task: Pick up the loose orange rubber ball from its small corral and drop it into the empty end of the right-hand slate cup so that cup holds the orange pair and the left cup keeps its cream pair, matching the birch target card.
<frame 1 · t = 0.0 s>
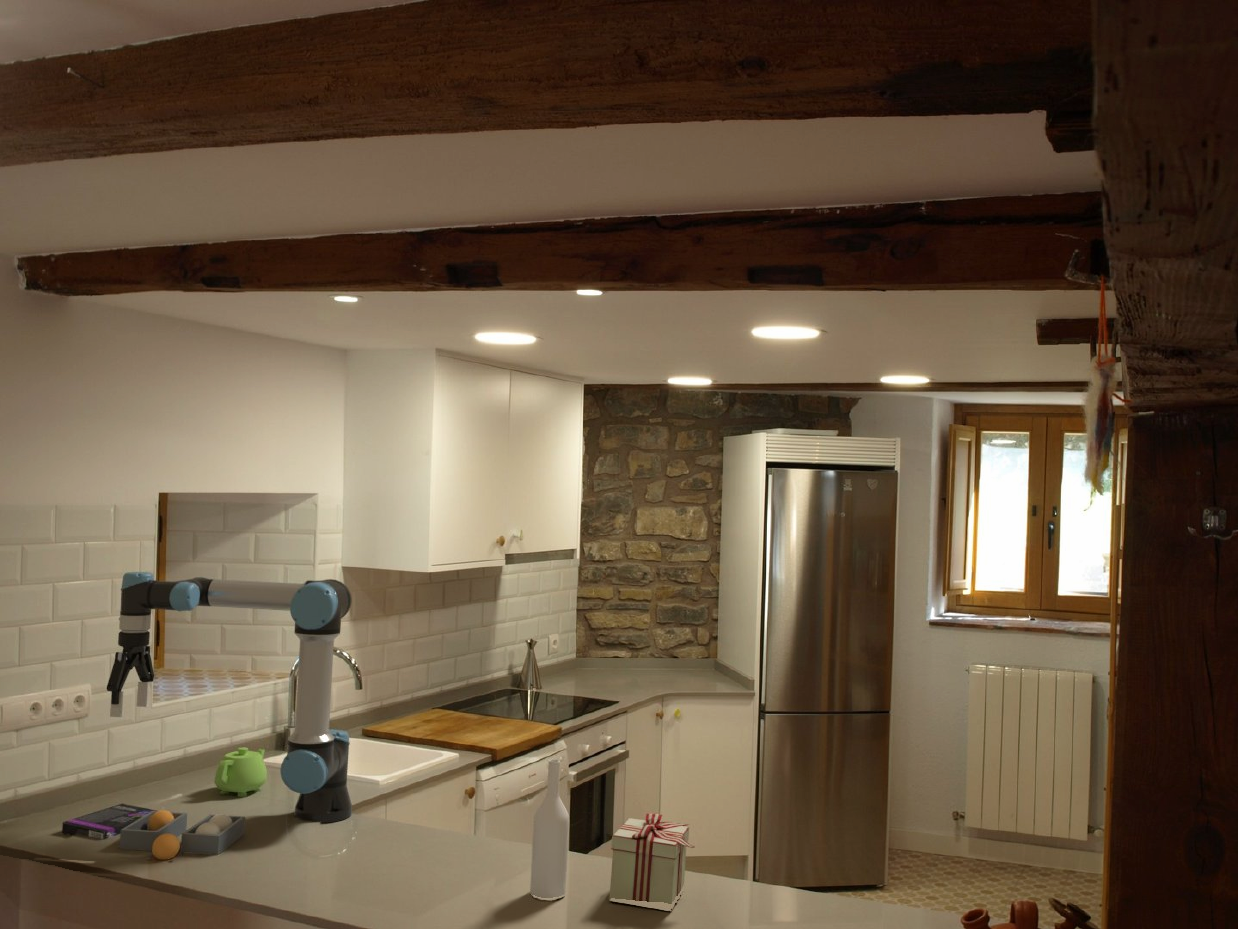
hand: (129, 711, 276), 28 cm above the worktop, fingers open, 13 cm apart
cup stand: (183, 843, 258), on the worktop
gift box: (653, 897, 238), on the worktop
orange ball 2: (165, 859, 246), on the worktop
cream ball 2: (207, 847, 254), point 1 cm above the worktop, touching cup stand
orange ball 1: (160, 834, 262), point 1 cm above the worktop, touching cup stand
bottle: (547, 895, 236), on the worktop
cream ball 1: (219, 838, 261), point 1 cm above the worktop, touching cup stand
teapot: (240, 792, 304), on the worktop
box: (113, 830, 268), on the worktop
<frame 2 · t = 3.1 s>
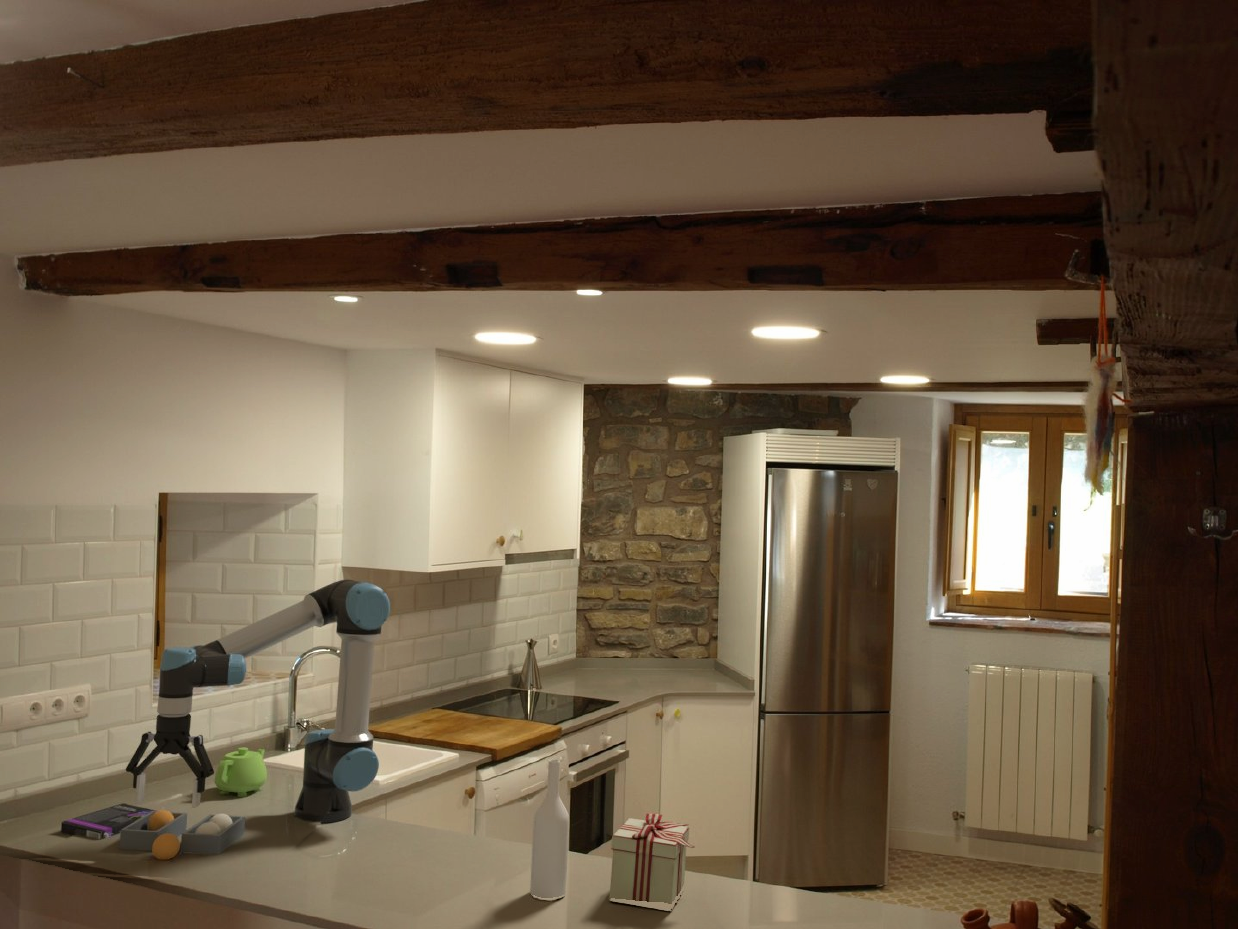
hand: (167, 804, 247), 13 cm above the worktop, fingers open, 13 cm apart
nothing on the worktop moved.
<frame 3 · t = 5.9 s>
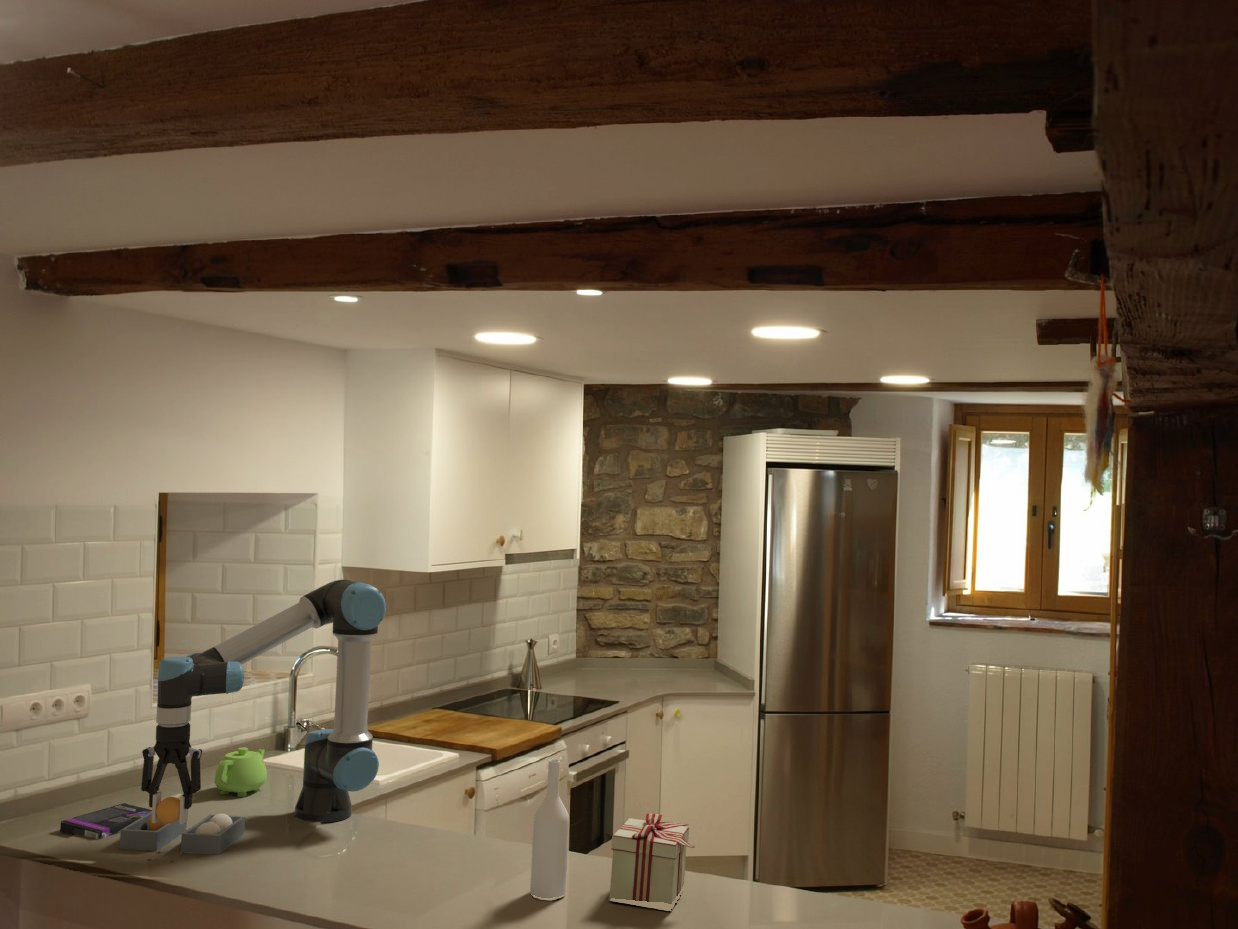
hand: (169, 821, 247), 9 cm above the worktop, fingers closed on orange ball 2, 6 cm apart
orange ball 2: (169, 823, 247), point 8 cm above the worktop, touching gripper
everything else where it was.
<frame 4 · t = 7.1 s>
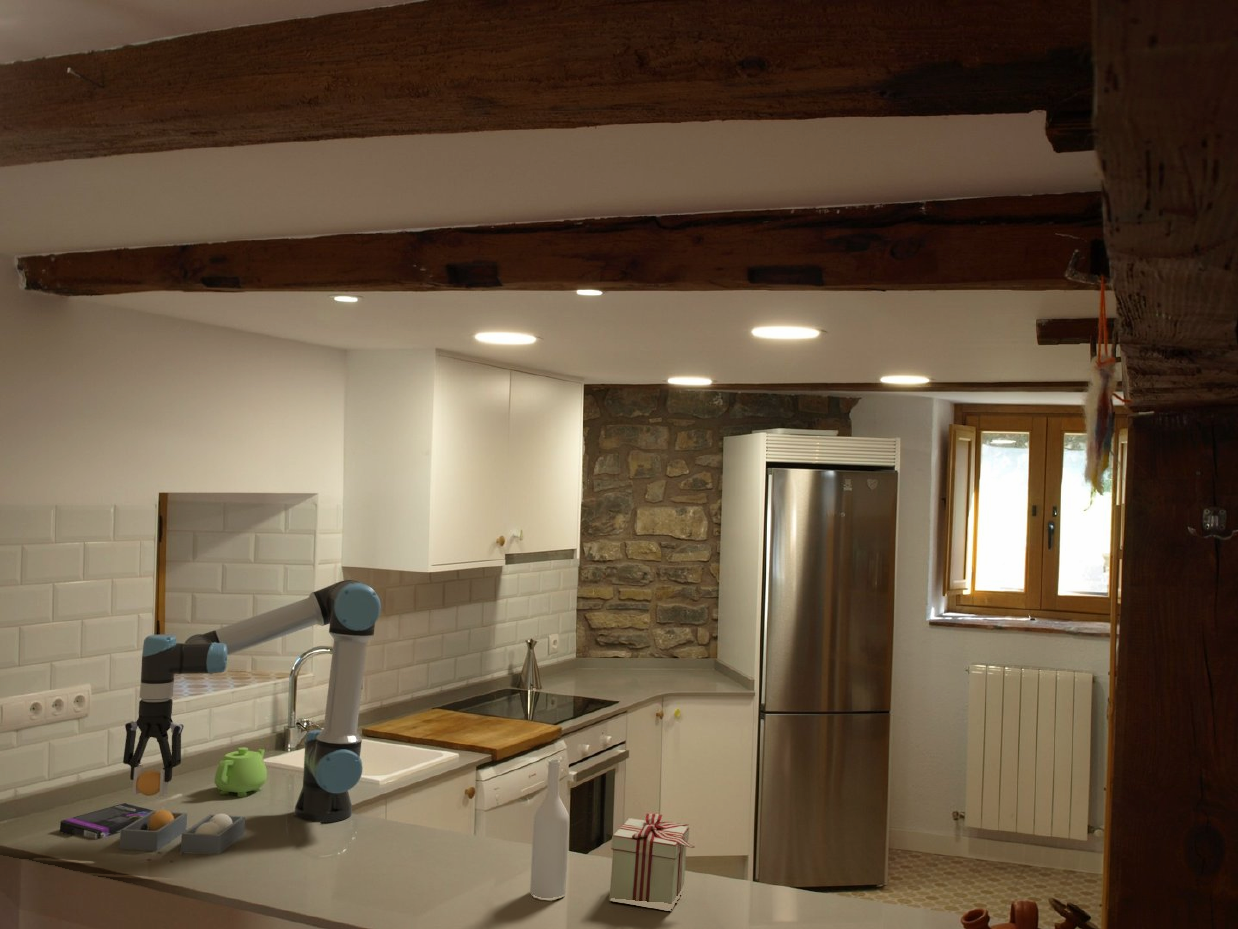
hand: (150, 794, 255), 13 cm above the worktop, fingers closed on orange ball 2, 6 cm apart
orange ball 2: (149, 795, 255), point 12 cm above the worktop, touching gripper
everything else where it was.
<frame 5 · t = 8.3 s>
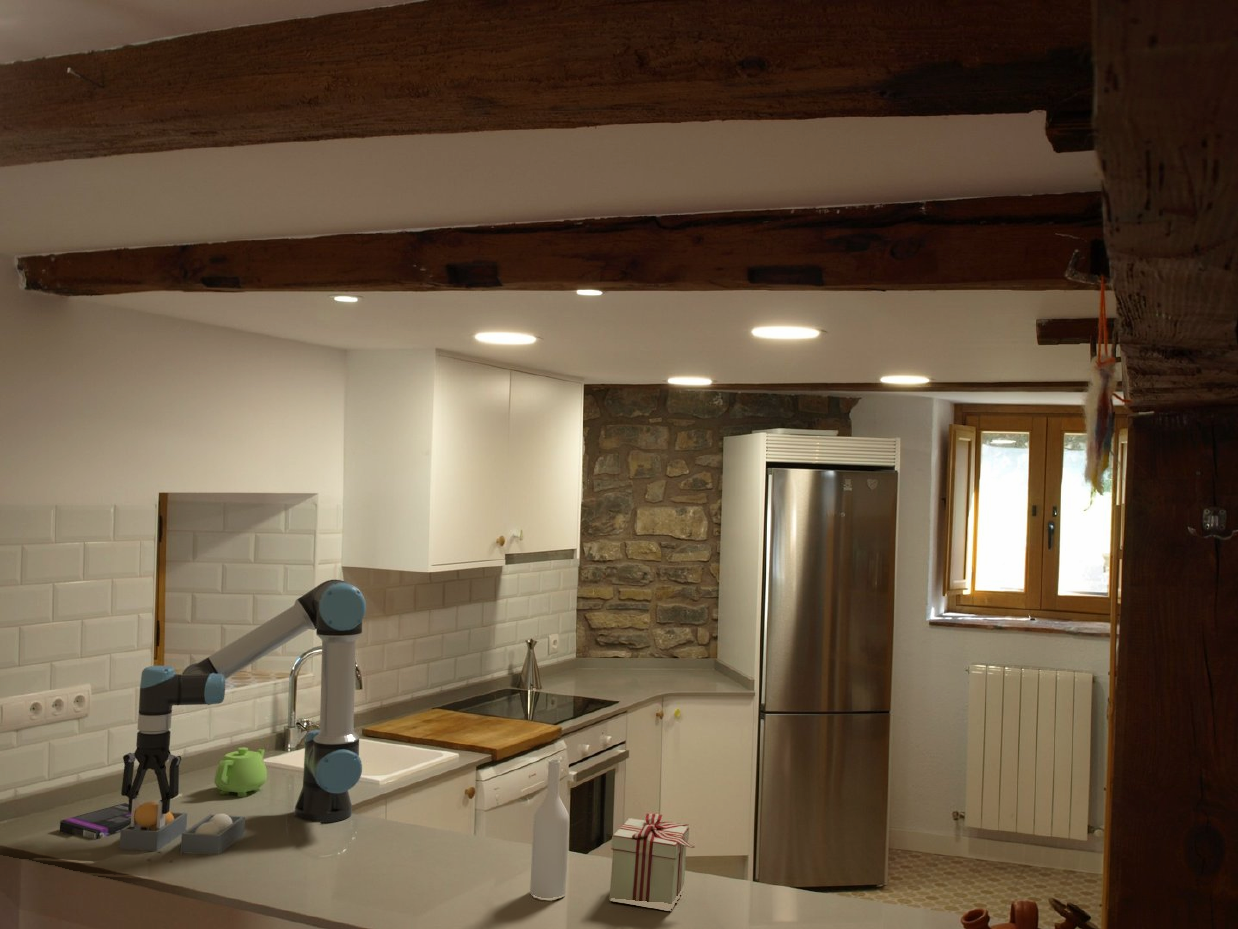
hand: (147, 825, 255), 5 cm above the worktop, fingers closed on orange ball 2, 6 cm apart
orange ball 2: (147, 827, 255), point 5 cm above the worktop, touching gripper
everything else where it was.
when the fingers open (5 cm above the worktop, at t = 9.7 s): orange ball 2 stays where it is, resting on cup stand.
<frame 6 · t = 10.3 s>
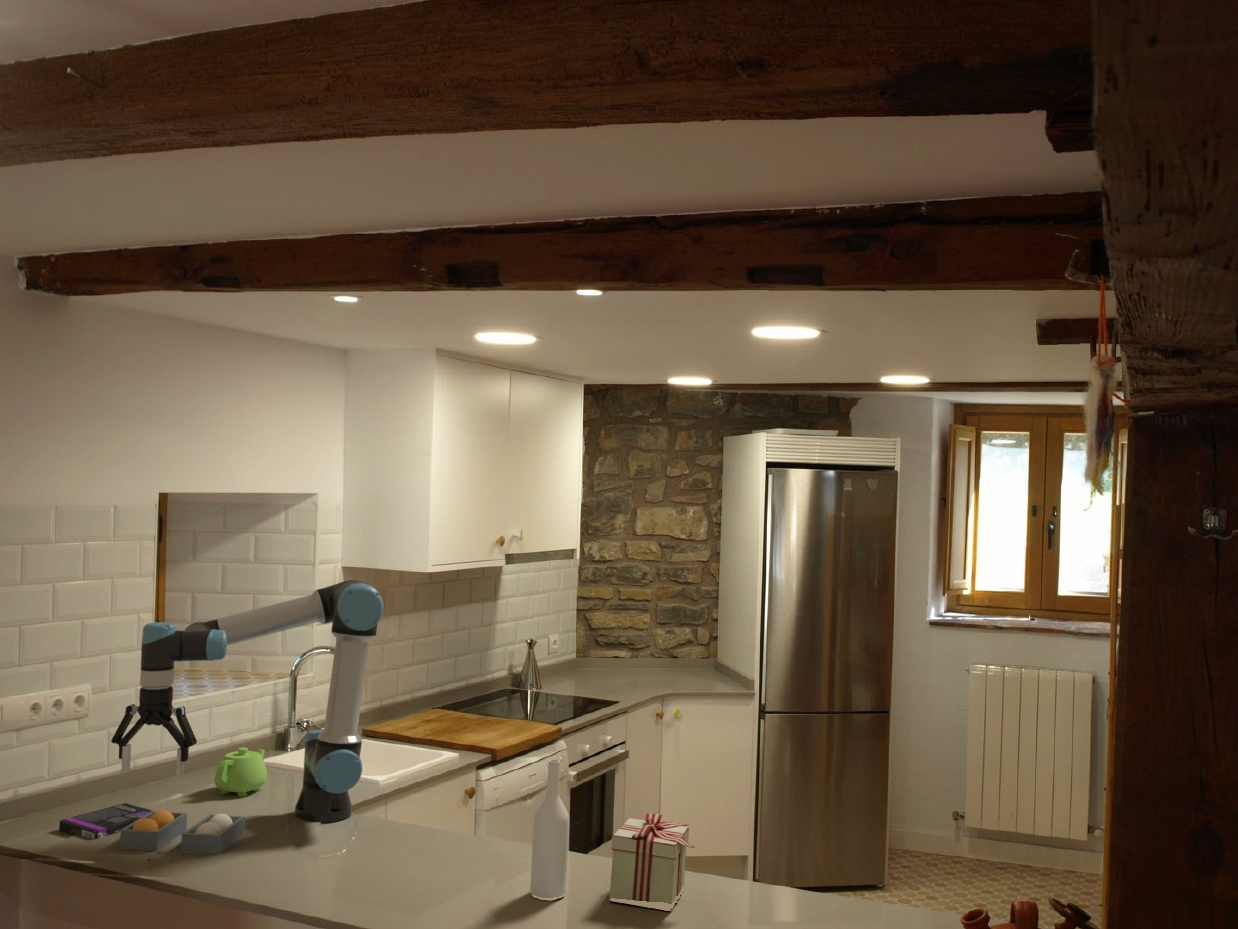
hand: (152, 773, 256), 18 cm above the worktop, fingers open, 13 cm apart
orange ball 2: (146, 843, 255), point 1 cm above the worktop, tilted 13°, touching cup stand
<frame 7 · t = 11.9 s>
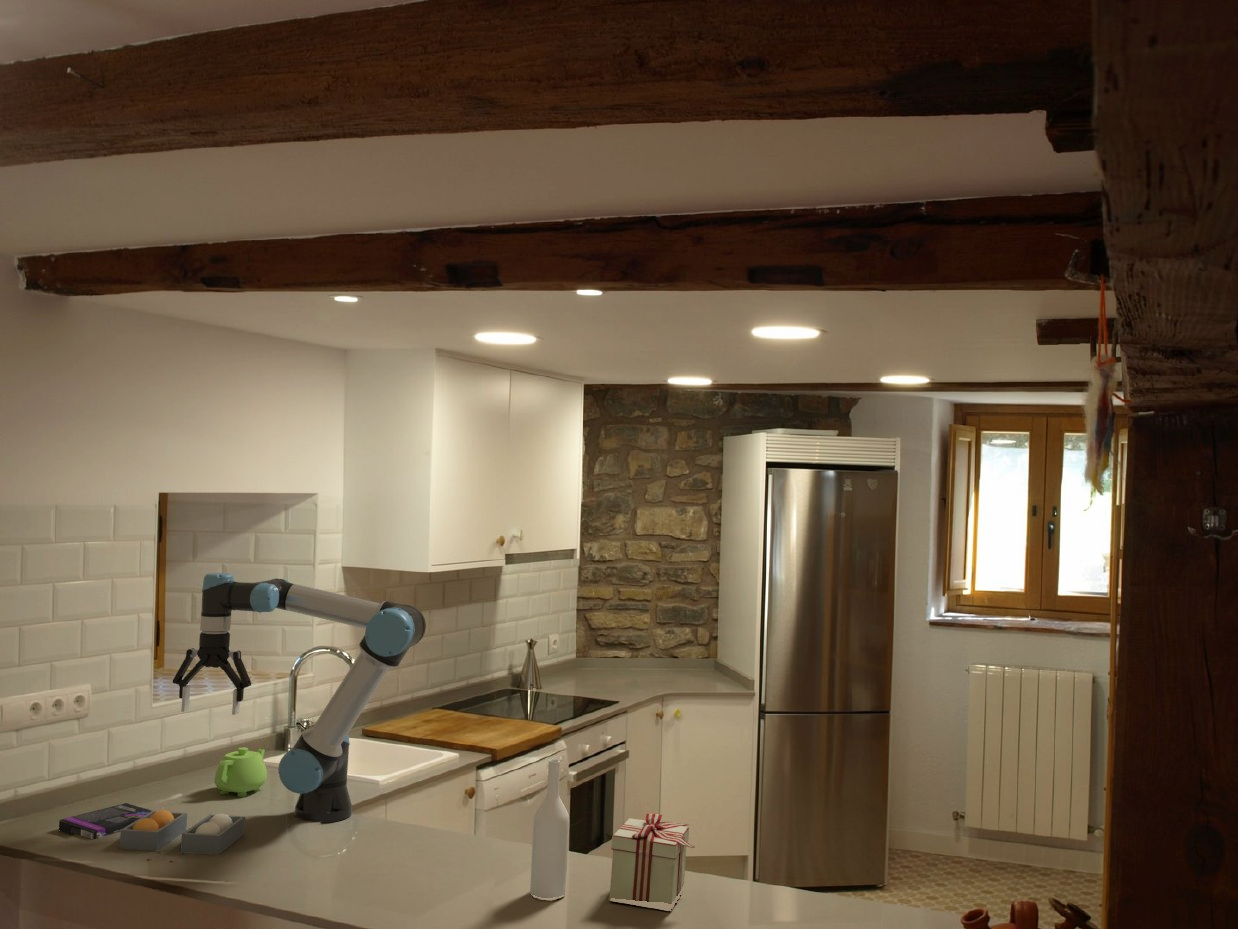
hand: (210, 712, 276), 29 cm above the worktop, fingers open, 13 cm apart
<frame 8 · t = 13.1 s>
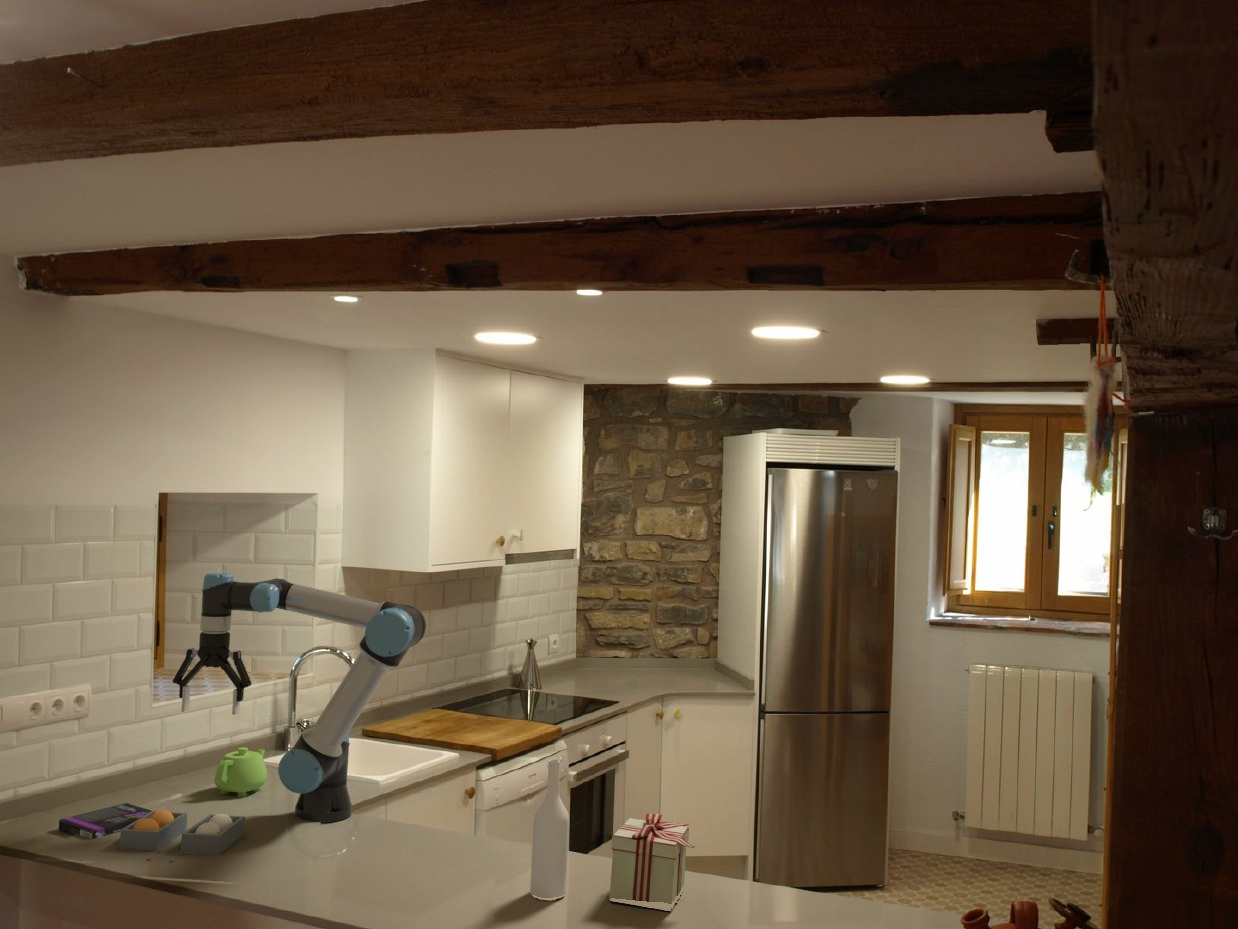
hand: (210, 712, 276), 29 cm above the worktop, fingers open, 13 cm apart
nothing on the worktop moved.
at the end: orange ball 2 inside the target area on the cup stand (3.6 cm from its centre), point 0.6 cm above the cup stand's base; orange ball 1 inside the target area on the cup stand (3.5 cm from its centre), point 0.6 cm above the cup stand's base; the gripper is holding nothing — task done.
